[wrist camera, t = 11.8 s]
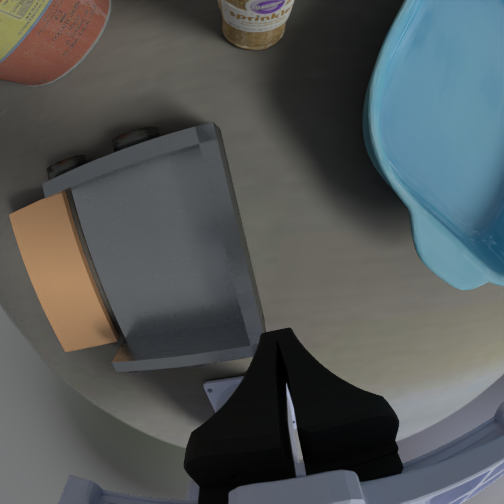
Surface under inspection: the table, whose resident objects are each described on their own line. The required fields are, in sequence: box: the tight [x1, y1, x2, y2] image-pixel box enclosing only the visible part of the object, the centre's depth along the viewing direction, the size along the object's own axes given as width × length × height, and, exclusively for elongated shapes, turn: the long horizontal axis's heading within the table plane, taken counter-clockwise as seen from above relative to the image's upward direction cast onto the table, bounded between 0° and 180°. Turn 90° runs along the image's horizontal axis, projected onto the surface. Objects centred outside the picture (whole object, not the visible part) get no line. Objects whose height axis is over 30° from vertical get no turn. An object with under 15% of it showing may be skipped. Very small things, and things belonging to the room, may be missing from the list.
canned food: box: [0, 0, 112, 87], centre depth 9 cm, size 11×11×12 cm
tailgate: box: [9, 192, 119, 352], centre depth 21 cm, size 14×1×6 cm
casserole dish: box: [363, 0, 504, 290], centre depth 14 cm, size 37×22×7 cm, turn 152°
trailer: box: [42, 122, 266, 372], centre depth 19 cm, size 17×13×4 cm
